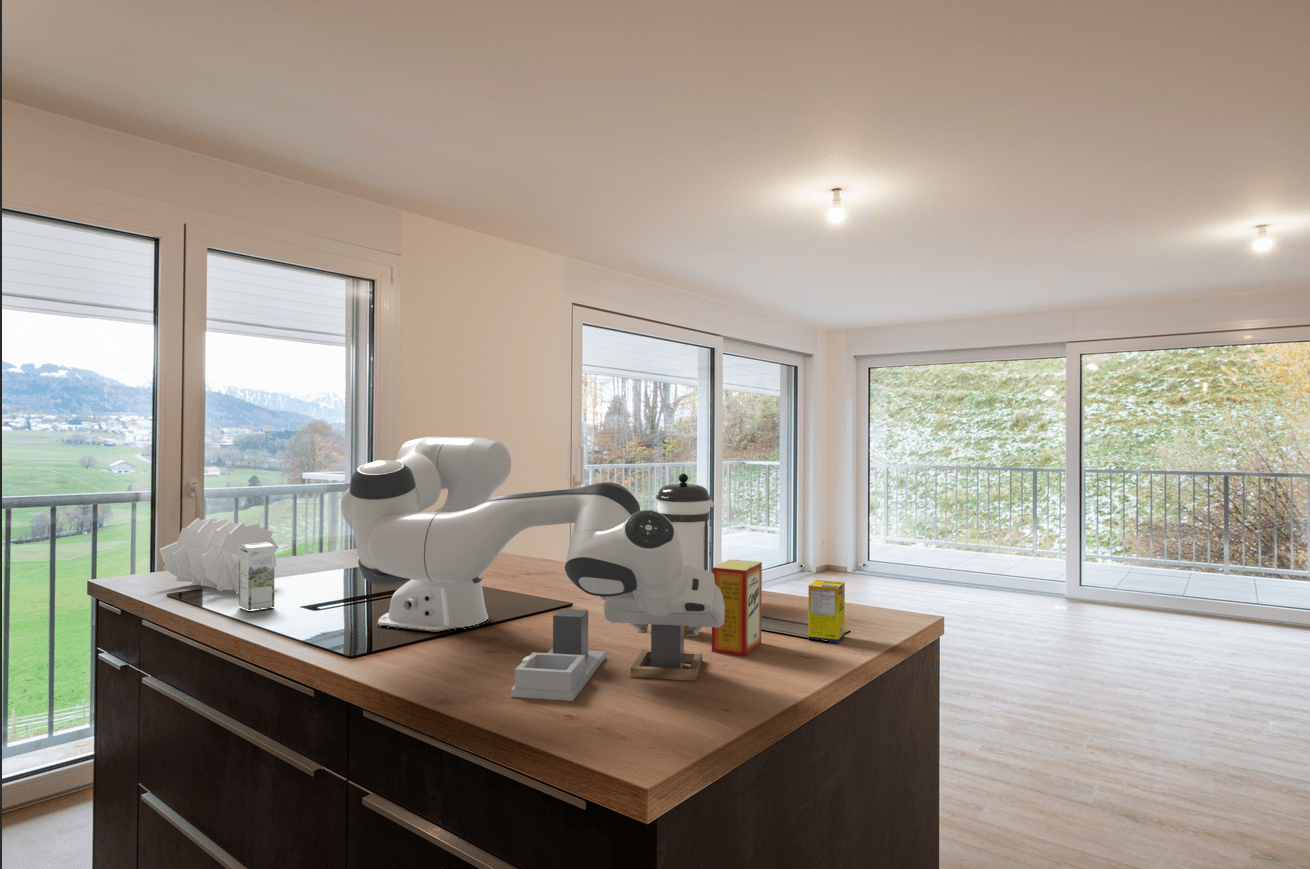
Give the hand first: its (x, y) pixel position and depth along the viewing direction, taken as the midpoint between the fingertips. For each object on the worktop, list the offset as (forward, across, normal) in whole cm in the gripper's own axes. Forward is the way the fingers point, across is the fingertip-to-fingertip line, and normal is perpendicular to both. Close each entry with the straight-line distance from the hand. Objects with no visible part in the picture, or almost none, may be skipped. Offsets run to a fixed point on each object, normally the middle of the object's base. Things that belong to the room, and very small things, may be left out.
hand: (668, 630), depth 140 cm
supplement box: (+21, +28, +12) cm, 37 cm away
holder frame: (+4, 0, -5) cm, 6 cm away
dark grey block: (+4, 0, -5) cm, 6 cm away
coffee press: (+40, -5, +30) cm, 50 cm away
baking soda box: (+15, +11, +5) cm, 19 cm away
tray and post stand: (-1, -17, -10) cm, 20 cm away
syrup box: (+23, -97, +13) cm, 100 cm away
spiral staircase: (+35, -119, +25) cm, 126 cm away
